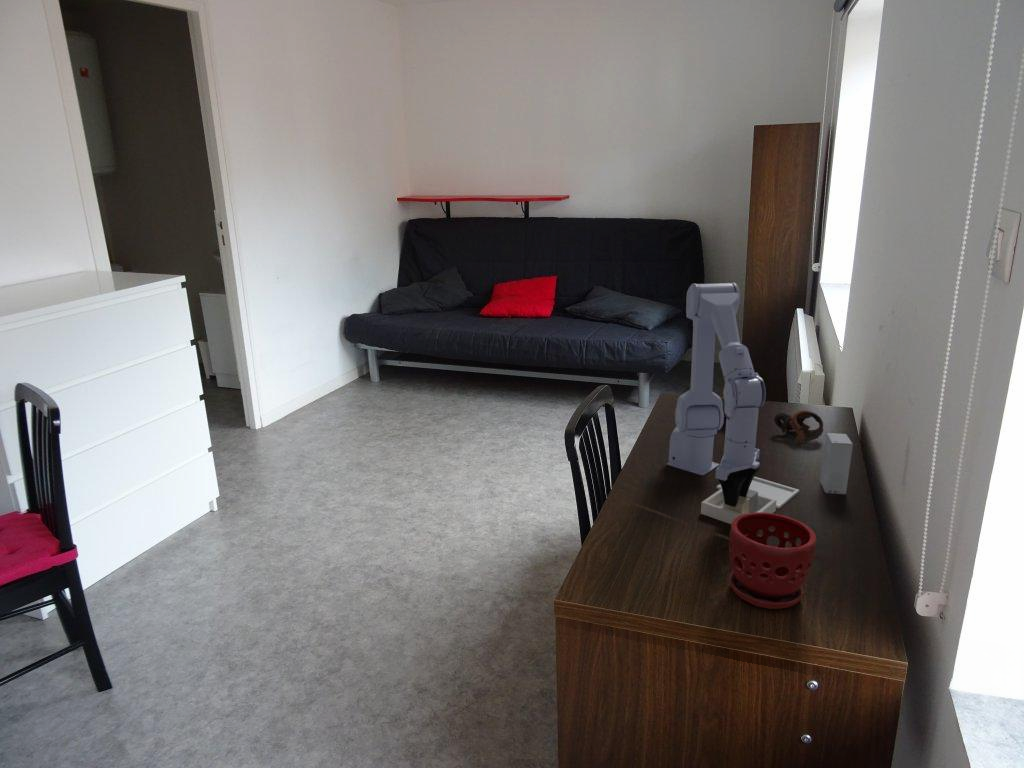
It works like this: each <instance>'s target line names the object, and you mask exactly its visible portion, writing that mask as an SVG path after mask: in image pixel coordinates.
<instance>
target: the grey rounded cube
mask: <svg viewBox="0 0 1024 768" xmlns="http://www.w3.org/2000/svg"><path fill="white" fill-rule="evenodd" d="M746 497H747V498H750V505H749V513H753V512H754V511H755V510H756V509H757V500H758V492H757V491H754V490H750V489H749V490H748V493H747V496H746Z"/></svg>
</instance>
